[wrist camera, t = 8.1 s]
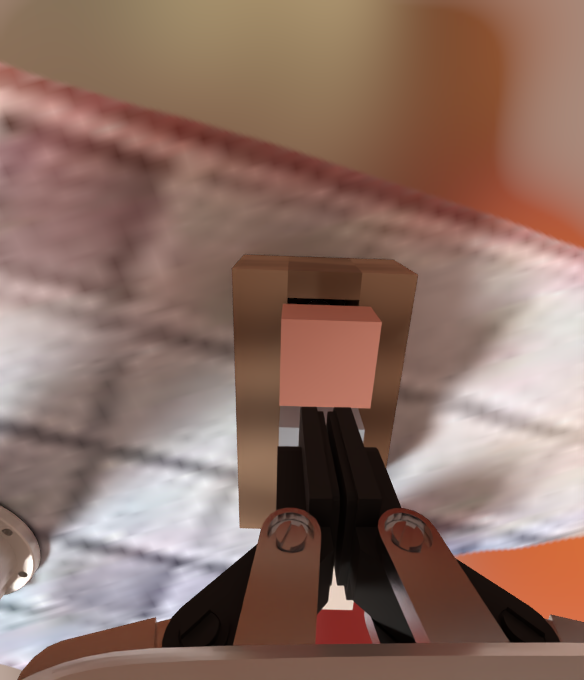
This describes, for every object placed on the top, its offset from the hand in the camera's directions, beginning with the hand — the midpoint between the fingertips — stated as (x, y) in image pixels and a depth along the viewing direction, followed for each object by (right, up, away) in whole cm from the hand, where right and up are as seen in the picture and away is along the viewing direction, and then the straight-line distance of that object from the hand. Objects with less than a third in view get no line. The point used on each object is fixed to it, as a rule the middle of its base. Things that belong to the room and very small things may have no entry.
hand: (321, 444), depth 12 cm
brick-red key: (+1, +5, +11) cm, 12 cm away
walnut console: (0, 0, +15) cm, 15 cm away
